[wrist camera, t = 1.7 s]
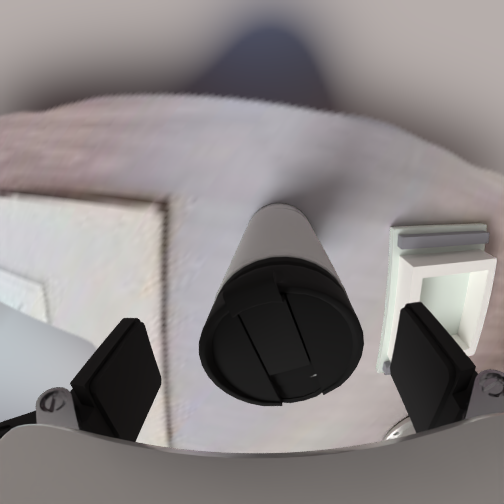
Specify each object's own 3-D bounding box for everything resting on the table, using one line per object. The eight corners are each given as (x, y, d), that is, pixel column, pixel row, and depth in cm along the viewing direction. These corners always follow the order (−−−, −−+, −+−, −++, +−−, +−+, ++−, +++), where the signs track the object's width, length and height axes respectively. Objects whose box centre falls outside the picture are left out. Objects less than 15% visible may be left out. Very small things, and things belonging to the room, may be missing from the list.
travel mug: (297, 190, 27) (345, 248, 8) (319, 253, 29) (379, 398, 10) (236, 212, 28) (158, 310, 9) (260, 273, 30) (235, 434, 11)
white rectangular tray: (458, 352, 31) (472, 370, 27) (375, 368, 33) (385, 391, 28) (482, 223, 26) (504, 232, 22) (389, 226, 28) (407, 237, 23)
